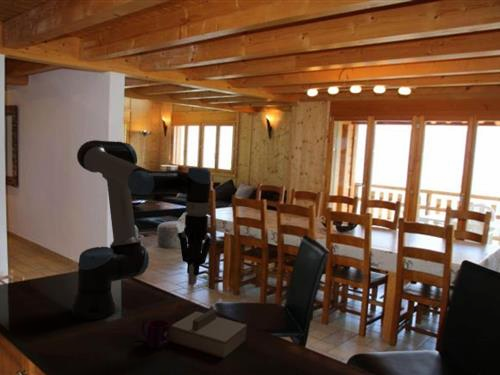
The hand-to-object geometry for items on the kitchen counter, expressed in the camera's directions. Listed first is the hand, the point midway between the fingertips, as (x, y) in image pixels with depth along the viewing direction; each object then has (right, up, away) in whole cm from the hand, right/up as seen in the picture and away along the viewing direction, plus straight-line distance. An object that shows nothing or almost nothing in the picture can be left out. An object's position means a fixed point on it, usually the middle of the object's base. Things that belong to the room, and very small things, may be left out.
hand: (192, 283), depth 146 cm
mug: (-12, -18, -6) cm, 22 cm away
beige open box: (+6, -19, -2) cm, 20 cm away
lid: (+6, -14, -2) cm, 15 cm away
